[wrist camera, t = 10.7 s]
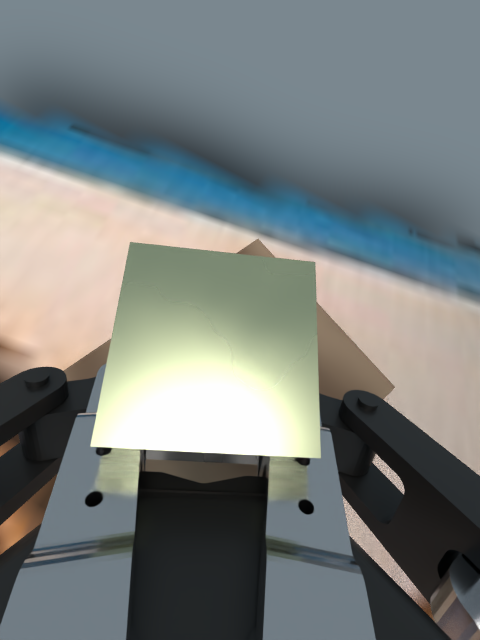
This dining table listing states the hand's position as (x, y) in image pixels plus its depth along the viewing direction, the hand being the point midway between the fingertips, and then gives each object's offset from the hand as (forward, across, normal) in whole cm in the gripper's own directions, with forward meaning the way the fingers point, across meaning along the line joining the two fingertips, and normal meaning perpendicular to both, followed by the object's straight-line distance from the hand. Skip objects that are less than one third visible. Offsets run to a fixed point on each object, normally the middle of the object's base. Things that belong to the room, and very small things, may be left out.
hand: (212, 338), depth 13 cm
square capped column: (+3, 0, +6) cm, 6 cm away
